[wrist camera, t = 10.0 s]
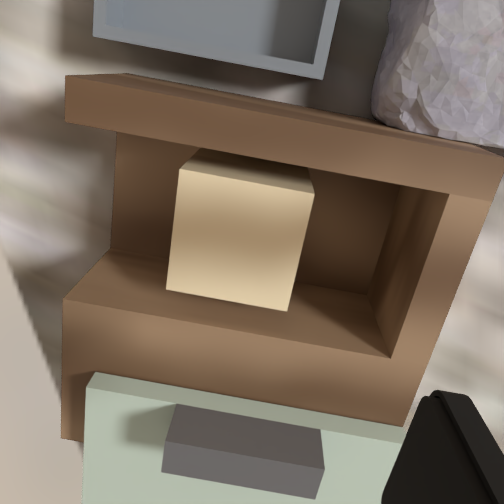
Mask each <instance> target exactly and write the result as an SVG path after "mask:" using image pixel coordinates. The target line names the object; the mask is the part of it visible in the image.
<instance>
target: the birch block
mask: <svg viewBox="0 0 504 504" xmlns="http://www.w3.org/2000/svg"><path fill="white" fill-rule="evenodd" d="M314 195H315V193H314V189H313V186H312V182H311V178H310V175H309V171H308V167H303V166H298V165H293V164H287V163H282V162H277V161H271V160H266V159H261V158H255V157H250V156H245V155H239V154H234V153H229V152H223V151H218V150H213V149H207V148H202V147H201V148H200V149H199V150H198V151H197V152H196V153H195V154H194V155H193V156H192V157H191V158H190V159H189V160H188V161H187V162H186V163H185V164H184V165H183V166H182V167H181V168H180V169H179V178H178V187H177V196H176V205H175V213H174V222H173V231H172V240H171V249H170V258H169V267H168V275H167V284H166V290H172V291H177V292H183V293H188V294H194V295H199V296H205V297H210V298H215V299H221V300H226V301H232V302H237V303H243V304H248V305H254V306H259V307H265V308H270V309H276V310H281V311H286V312H287V310H288V305H289V301H290V297H291V293H292V288H293V284H294V280H295V276H296V272H297V267H298V263H299V259H300V255H301V250H302V246H303V242H304V238H305V233H306V229H307V225H308V221H309V217H310V212H311V208H312V204H313V200H314Z"/></svg>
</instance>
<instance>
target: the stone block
mask: <svg viewBox="0 0 504 504" xmlns="http://www.w3.org/2000/svg"><path fill="white" fill-rule="evenodd" d="M388 24H389V33H388V36H387V39H386V45H385V47H384V49H383V51H382V53H381V59H380V61H379V64H378V68H377V72H376V75H375V79H374V84H373V88H372V93H371V110H372V115H373V116H374V117H375V118H376V119H377V120H378V121H380V122H382V123H383V124H386V125H387V126H389V127H393V128H397V129H401V130H404V131H409V132H416V133H421V134H425V135H430V136H435V137H440V138H445V139H450V140H455V141H461V142H467V143H472V144H478V145H484V146H490V147H497V148H504V0H391V4H390V10H389V12H388Z"/></svg>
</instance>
